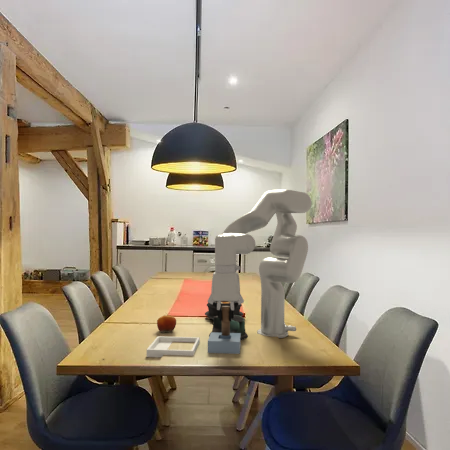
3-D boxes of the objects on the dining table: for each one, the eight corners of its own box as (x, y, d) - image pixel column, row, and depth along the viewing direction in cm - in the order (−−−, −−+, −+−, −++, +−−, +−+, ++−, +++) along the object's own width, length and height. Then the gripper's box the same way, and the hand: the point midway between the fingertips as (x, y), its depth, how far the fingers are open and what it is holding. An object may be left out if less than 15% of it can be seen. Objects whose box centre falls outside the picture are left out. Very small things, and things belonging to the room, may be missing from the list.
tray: (199, 344, 153) (199, 337, 153) (193, 358, 137) (193, 351, 137) (157, 342, 154) (157, 336, 154) (146, 356, 138) (146, 349, 138)
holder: (240, 346, 150) (240, 333, 150) (239, 356, 139) (239, 341, 139) (211, 345, 151) (211, 332, 151) (207, 355, 140) (207, 341, 140)
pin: (230, 333, 147) (230, 305, 146) (229, 335, 144) (229, 307, 144) (222, 333, 147) (221, 305, 147) (221, 335, 144) (221, 307, 144)
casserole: (242, 324, 182) (243, 306, 182) (201, 323, 183) (201, 305, 183) (243, 312, 207) (244, 296, 207) (207, 311, 208) (207, 295, 208)
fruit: (158, 332, 163) (157, 313, 167) (156, 337, 170) (155, 319, 174) (178, 331, 165) (177, 312, 169) (176, 336, 172) (174, 318, 176)
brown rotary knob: (261, 337, 164) (262, 314, 164) (238, 350, 147) (238, 324, 147) (220, 330, 174) (220, 308, 174) (193, 341, 157) (193, 317, 157)
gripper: (248, 268, 148) (248, 318, 148) (204, 267, 149) (204, 317, 150) (248, 270, 140) (248, 323, 141) (201, 270, 142) (201, 322, 142)
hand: (225, 320), depth 145 cm, fingers closed on pin, 3 cm apart
